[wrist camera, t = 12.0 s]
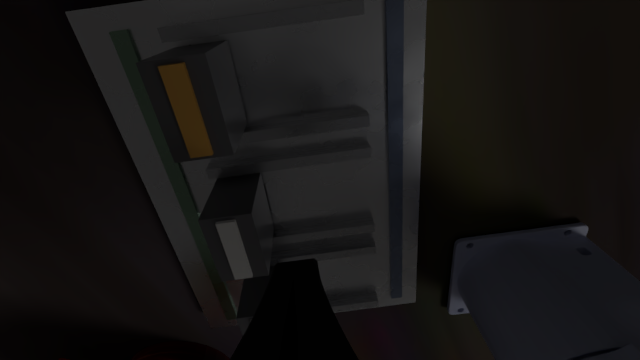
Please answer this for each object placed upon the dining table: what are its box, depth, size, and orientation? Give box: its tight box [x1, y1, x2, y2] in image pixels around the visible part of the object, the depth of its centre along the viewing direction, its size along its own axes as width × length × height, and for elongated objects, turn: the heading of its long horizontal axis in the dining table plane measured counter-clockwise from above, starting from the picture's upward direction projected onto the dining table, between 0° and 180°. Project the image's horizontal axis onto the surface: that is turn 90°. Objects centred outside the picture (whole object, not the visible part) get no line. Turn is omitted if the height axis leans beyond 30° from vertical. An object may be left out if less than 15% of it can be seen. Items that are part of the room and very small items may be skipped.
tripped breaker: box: [136, 40, 248, 163], centre depth 14 cm, size 2×4×4 cm, turn 7°
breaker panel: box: [65, 0, 427, 329], centre depth 20 cm, size 16×22×2 cm
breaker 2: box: [236, 267, 274, 335], centre depth 21 cm, size 2×4×4 cm, turn 7°
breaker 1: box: [198, 173, 274, 281], centre depth 17 cm, size 2×4×4 cm, turn 7°
